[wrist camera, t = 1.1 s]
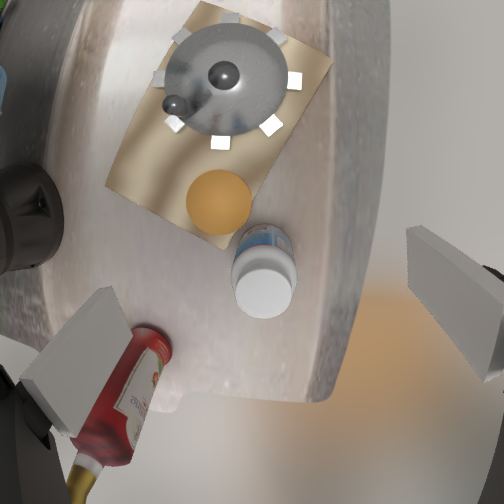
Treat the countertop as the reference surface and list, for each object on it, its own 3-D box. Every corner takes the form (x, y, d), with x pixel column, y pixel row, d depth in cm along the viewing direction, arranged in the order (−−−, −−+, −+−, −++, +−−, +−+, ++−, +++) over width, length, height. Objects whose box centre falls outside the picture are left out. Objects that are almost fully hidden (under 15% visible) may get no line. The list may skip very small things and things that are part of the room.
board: (109, 184, 34) (104, 186, 33) (202, 4, 26) (200, 0, 25) (226, 247, 36) (224, 250, 35) (332, 62, 28) (334, 60, 27)
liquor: (179, 364, 42) (116, 540, 16) (133, 360, 43) (53, 515, 16) (171, 322, 40) (81, 512, 13) (122, 319, 40) (14, 480, 14)
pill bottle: (234, 268, 37) (220, 319, 26) (243, 218, 35) (231, 253, 24) (285, 278, 37) (290, 332, 26) (297, 228, 35) (308, 268, 24)
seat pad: (176, 215, 34) (175, 216, 33) (204, 158, 31) (203, 158, 31) (232, 245, 34) (232, 246, 34) (264, 189, 32) (263, 190, 32)
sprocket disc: (234, -6, 25) (226, -33, 19) (330, 87, 28) (344, 74, 22) (131, 83, 29) (103, 74, 23) (220, 178, 32) (208, 187, 26)
